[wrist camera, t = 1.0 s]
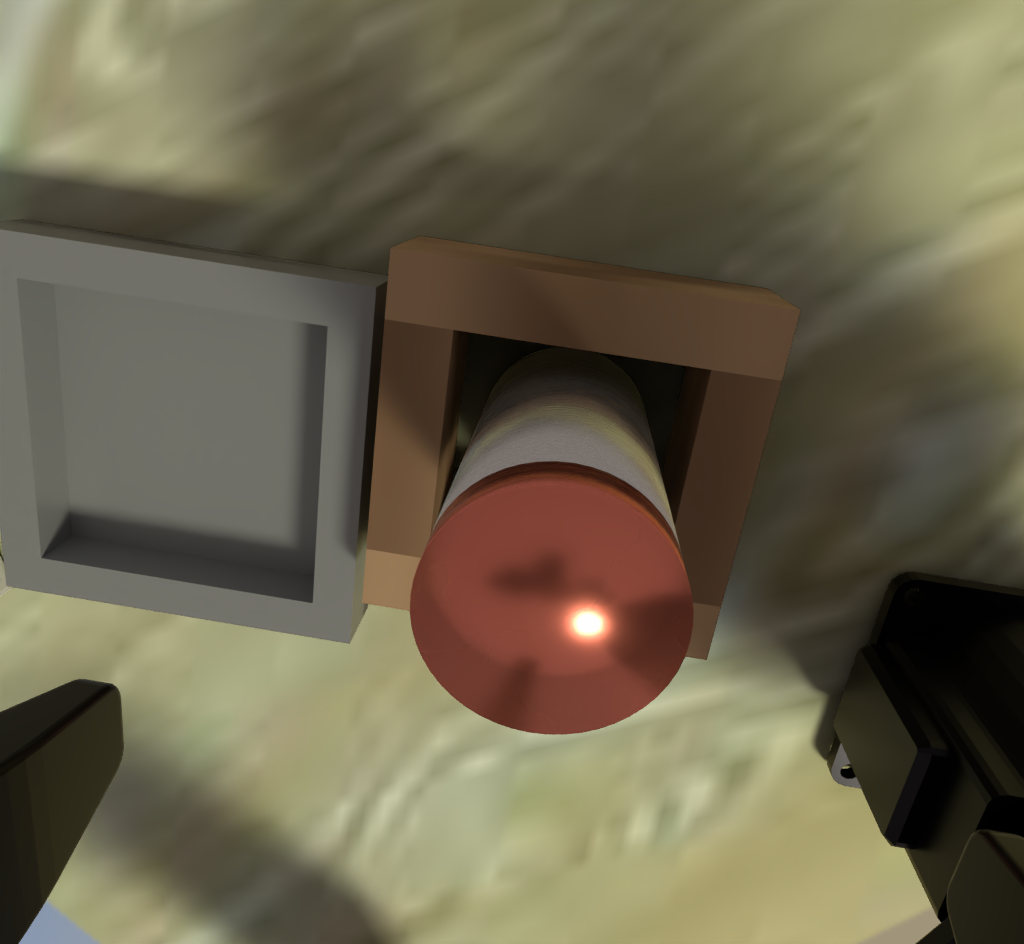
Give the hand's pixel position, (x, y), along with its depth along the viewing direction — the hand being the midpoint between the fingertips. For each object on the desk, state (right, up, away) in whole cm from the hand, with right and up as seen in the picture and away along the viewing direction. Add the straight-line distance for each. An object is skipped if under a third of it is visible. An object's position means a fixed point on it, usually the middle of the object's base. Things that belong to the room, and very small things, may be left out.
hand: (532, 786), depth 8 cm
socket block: (+1, +4, +11) cm, 12 cm away
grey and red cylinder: (+1, +4, +11) cm, 12 cm away
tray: (-8, +4, +12) cm, 15 cm away
